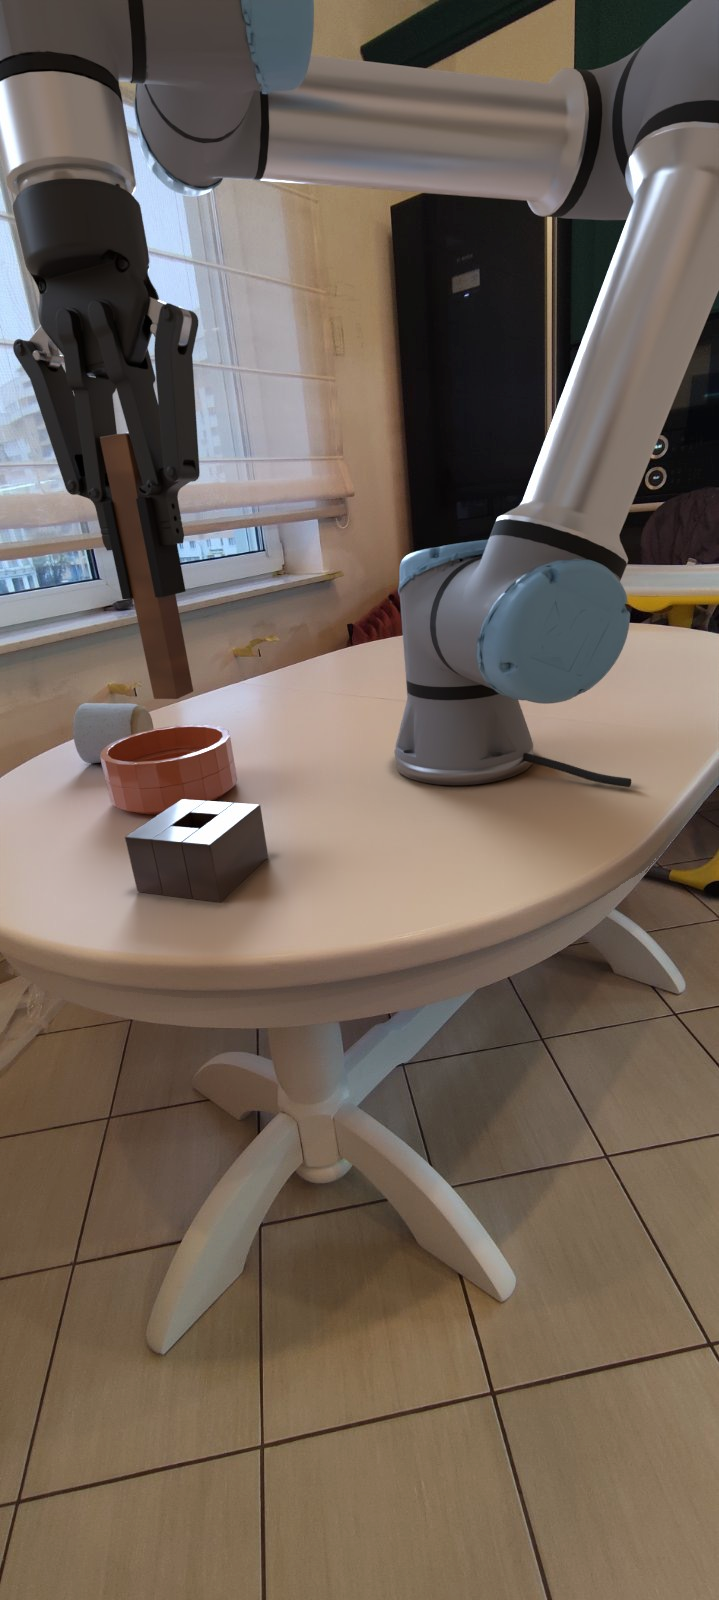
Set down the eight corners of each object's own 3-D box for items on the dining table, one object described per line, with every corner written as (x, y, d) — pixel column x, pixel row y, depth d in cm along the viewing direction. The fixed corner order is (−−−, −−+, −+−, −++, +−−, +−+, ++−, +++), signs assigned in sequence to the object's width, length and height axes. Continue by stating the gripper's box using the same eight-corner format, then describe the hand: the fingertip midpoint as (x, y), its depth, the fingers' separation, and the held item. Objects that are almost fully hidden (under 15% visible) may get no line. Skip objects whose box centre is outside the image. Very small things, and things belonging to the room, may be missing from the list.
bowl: (259, 775, 83) (252, 725, 81) (193, 823, 72) (182, 766, 70) (161, 770, 88) (152, 723, 86) (85, 814, 77) (72, 761, 75)
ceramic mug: (143, 766, 90) (130, 706, 87) (79, 771, 91) (65, 711, 88) (168, 742, 100) (157, 687, 97) (110, 746, 101) (98, 692, 98)
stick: (194, 691, 56) (145, 433, 49) (177, 699, 54) (125, 432, 48) (170, 691, 57) (120, 438, 50) (153, 699, 55) (99, 436, 48)
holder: (268, 856, 63) (260, 804, 61) (220, 902, 56) (209, 844, 55) (191, 849, 66) (181, 798, 64) (137, 892, 59) (124, 836, 57)
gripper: (215, 186, 44) (270, 582, 53) (27, 243, 50) (105, 593, 59) (139, 137, 38) (216, 597, 47) (-67, 210, 44) (36, 608, 52)
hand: (154, 594), depth 53 cm, fingers closed on stick, 2 cm apart
